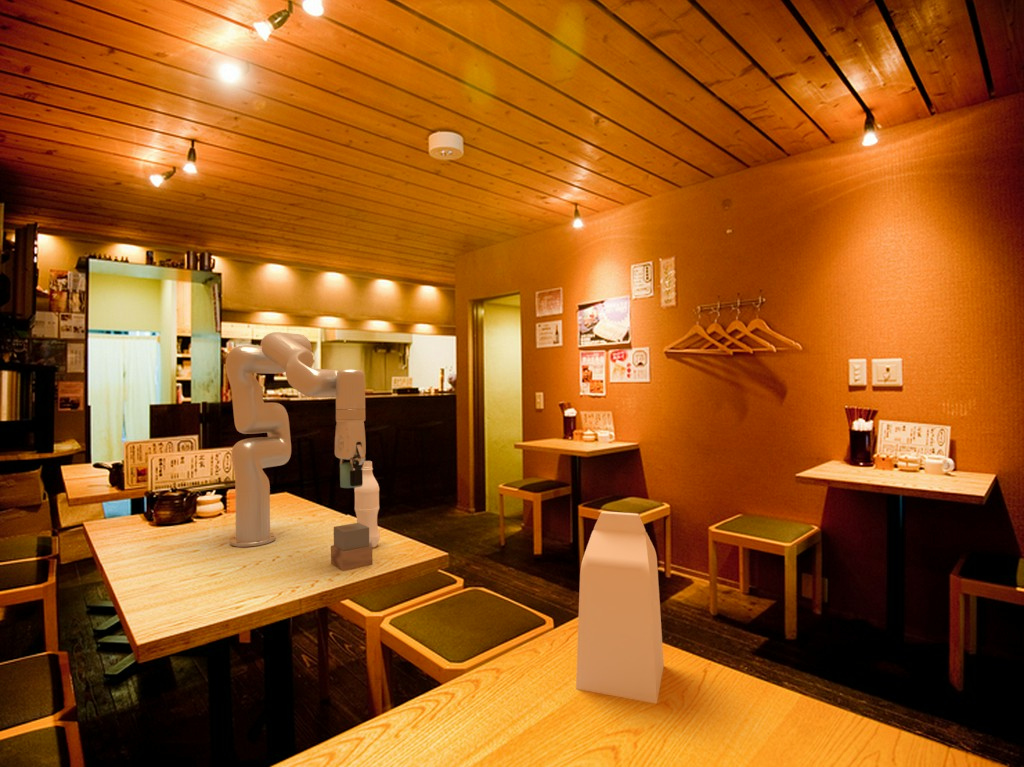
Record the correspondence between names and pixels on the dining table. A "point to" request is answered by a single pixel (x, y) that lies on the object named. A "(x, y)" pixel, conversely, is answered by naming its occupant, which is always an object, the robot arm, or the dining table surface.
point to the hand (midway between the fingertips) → (351, 483)
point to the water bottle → (368, 503)
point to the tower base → (351, 558)
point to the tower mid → (351, 536)
